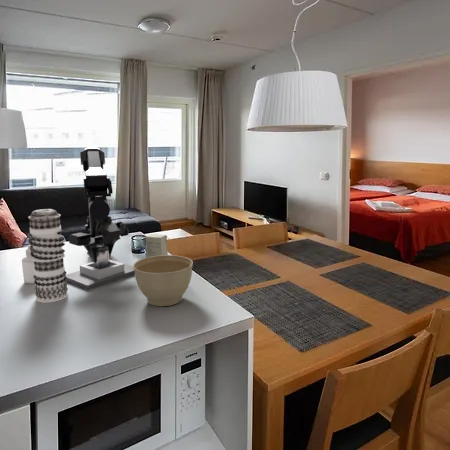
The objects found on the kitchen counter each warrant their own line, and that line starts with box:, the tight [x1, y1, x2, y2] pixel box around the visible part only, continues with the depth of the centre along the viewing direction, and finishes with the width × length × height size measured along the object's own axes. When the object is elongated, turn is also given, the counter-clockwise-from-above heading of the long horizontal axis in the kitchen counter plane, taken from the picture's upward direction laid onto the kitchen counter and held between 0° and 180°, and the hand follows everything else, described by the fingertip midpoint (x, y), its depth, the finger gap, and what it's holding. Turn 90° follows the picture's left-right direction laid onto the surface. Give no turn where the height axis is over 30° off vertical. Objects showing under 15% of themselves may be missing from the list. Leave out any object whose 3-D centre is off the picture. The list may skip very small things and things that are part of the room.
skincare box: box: [145, 233, 169, 258], centre depth 130 cm, size 6×4×12 cm
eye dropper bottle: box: [21, 244, 35, 285], centre depth 117 cm, size 4×6×12 cm
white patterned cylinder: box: [27, 208, 69, 304], centre depth 105 cm, size 9×9×25 cm
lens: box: [94, 244, 110, 269], centre depth 123 cm, size 5×5×7 cm
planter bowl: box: [132, 254, 194, 307], centre depth 105 cm, size 16×16×11 cm
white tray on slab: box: [65, 259, 135, 291], centre depth 124 cm, size 20×14×4 cm
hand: (101, 260), depth 123 cm, fingers closed on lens, 5 cm apart
